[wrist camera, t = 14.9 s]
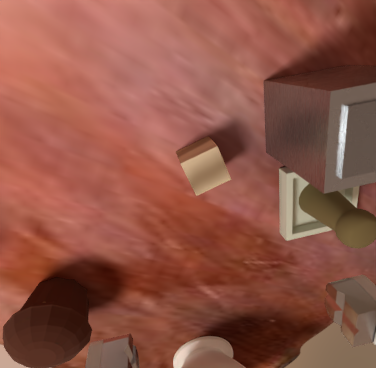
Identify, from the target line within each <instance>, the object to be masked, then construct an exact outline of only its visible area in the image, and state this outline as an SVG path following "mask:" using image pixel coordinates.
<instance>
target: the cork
mask: <svg viewBox="0 0 376 368" xmlns="http://www.w3.org/2000/svg"><path fill="white" fill-rule="evenodd" d="M299 206H300V208H301V209H302V210H303V211H304V212H305V213H307V214H309V215H310V216H312V217H313V218H315V219H316V220H318V221H320V222H321V223H323V224H324V225H326V226H328V227H329V228H331V229H332V230H334V231H335V232H336V235H337V237H338V238H339V240H340V241H341V242H342V243H343V244H345V245H347V246H349V247H351V248H363V247H366V246H368V245H370V244H371V243H372V242H374V240H375V239H376V217H375V216H374V215H373V214H371V213H370V212H368V211H366V210H363V209H357V208H356V207H355V206H354V205H353V204H352V203H351V202H350V201H349V200H347V199H346V198H345V197H344V196H343V195H342V194H341V193H340V192H339V191H334V192H329V193H325V194H323V193H322V192H321V191H319V190H318V189H317V188H315V187H314V186H312V185H311V184H308V185H307V186H306V187H305V188H304V189H303V190H302V192H301V194H300V196H299Z"/></svg>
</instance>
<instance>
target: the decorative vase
mask: <svg viewBox="0 0 376 368" xmlns="http://www.w3.org/2000/svg"><path fill="white" fill-rule="evenodd" d="M232 358H233V349H232V346H231V345H230V343H229V342H228V341H227V340H225V339H223V338H220V337H216V336H204V337H199V338H196V339H193V340H191V341H189V342H187V343H186V344H184V345H183V346H182V347H180V348H179V350H178V351H177V352H176V354H175V356H174V359H173V365H174V368H246V367H244V366H243V365H242V364H240V363H239V362H237V361H236V360H234V359H232Z"/></svg>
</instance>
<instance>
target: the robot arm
mask: <svg viewBox="0 0 376 368" xmlns="http://www.w3.org/2000/svg"><path fill="white" fill-rule="evenodd" d="M326 291H327V293H328V295H327V296H326V297H325V307H326V310H327V312H328V314H329V316H330V318H331V319H332V320H333V322H335V323H337V324H338V325H340V326H341V332H342V334H343V335H344V336H345V338H346V339H347V340H348V342H349V343H350V344H351V346H352V347H355V346H359V345H364V344H368V343H372V342H374V344H375V345H376V285H375V284H373V283H372V282H371V281H370V280H369V279H368V278H367V277H366V276H364V275H359V276H355V277H351V278H346V279H342V280H339V281H335V282H331V283H328V284H327V285H326ZM85 368H139V357H138V352H137V349H136V346H134V345H133V338H132V336H131V334H127V335H122V336H118V337H113V338H109V339H104V340H100V341H96V342H92V343H91V344H90V346H89V349H88V355H87V361H86V367H85Z"/></svg>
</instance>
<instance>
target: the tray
mask: <svg viewBox="0 0 376 368" xmlns="http://www.w3.org/2000/svg"><path fill="white" fill-rule="evenodd" d="M308 184H310V183H308V182H307V181H305V180H304V179H303V178H301V177H300V176H298V175H297V174H296V173H294V172H293V171H291V170H290V169H289V168H287V167H283V168H279V194H280V233H281V235H282V236H283V237H284V238H285V240H286V241H287V240H292V239H296V238H300V237H304V236H309V235H313V234H317V233H322V232H326V231H330V230H332V229H331V228H329V227H328V226H326V225H324V224H323V223H321V222H320V221H318V220H316V219H315V218H313V217H312V216H310V215H309V214H307V213H305V212H304V211H303V210H302V209H301V208H300V206H299V196H300V194H301V192H302V190H303V189H304V188H305V187H306V186H307V185H308ZM338 191H339V192H340V193H341V194H342V195H343V196H344V197H345V198H346V199H347V200H349V201H350V202H351V203H352V204H353V205H354V206H355V207H356V208H357V202H358V194H359V186H356V187H352V188H347V189H343V190H338Z"/></svg>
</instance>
